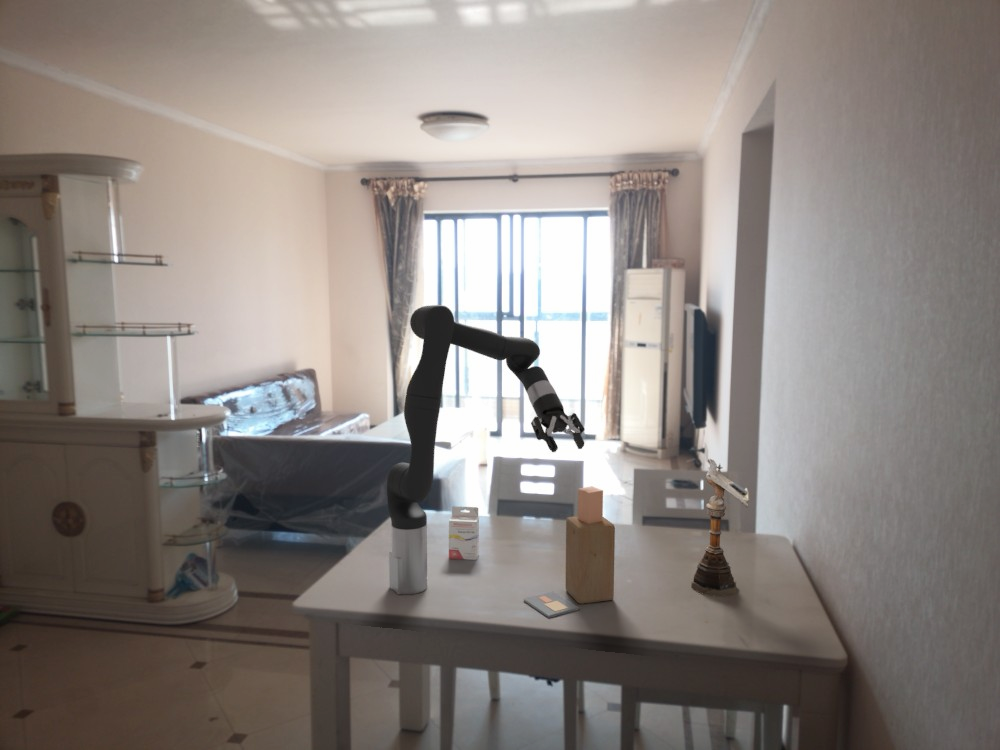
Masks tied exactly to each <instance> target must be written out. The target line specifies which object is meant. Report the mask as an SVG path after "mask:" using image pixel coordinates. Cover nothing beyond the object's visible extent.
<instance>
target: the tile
mask: <svg viewBox="0 0 1000 750" xmlns="http://www.w3.org/2000/svg"><path fill="white" fill-rule="evenodd" d="M523 602H525V603H526V604H528V605H529V606H530V607H531V608H533V609H535V611H537V612H539V613H540V614H542V615H544V616H545V617H546V618H548V619H550V618H553V617H556V616H557V617H558V616H560V615H564V614H568V613H571V612H574V611H578V610H580V609H579V606H577V605H575V604H574V603H573V602H571V601H569V600H567V599H566V598H564V597H563V596H561V595H560V594H558V593H557V592H555V591H549V592H546V593H542V594H538V595H534V596H530V597H526V598H523Z"/></svg>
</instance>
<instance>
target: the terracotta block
mask: <svg viewBox="0 0 1000 750" xmlns="http://www.w3.org/2000/svg"><path fill="white" fill-rule="evenodd" d="M603 509H604V490H603V489H600V488H597V487H594V486H586V487H580V488H578V489H577V516H578V520H581V521H583V522H585V523H588V524H591V523H596V522H600V521H603V517H604V516H603V514H604V510H603Z"/></svg>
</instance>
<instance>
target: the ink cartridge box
mask: <svg viewBox="0 0 1000 750" xmlns="http://www.w3.org/2000/svg"><path fill="white" fill-rule="evenodd" d="M463 511H469V512H463ZM479 536H480V517H479V508H478V507H477V506H456V505H455V506H451V517H450V519H449V520H448V559H453V560H454V559H455V560H469V561H470V560H471V561H472V560H474V561H477V560H478V558H479V557H478V556H479V552H480V551H479V549H480V547H479V545H480V544H479V542H480V541H479V540H480V537H479Z"/></svg>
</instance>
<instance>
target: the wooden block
mask: <svg viewBox="0 0 1000 750" xmlns="http://www.w3.org/2000/svg"><path fill="white" fill-rule="evenodd" d="M615 532H616V528H615V524H614V523H612V522H611V521H610V520H609V519H607V518H605V516H603V521H600V522H596V523H591V524H588V523H585V522H583V521H581V520H578V515H577V516H576V515H575V516H568V517H566V521H565V590H566V591H567V593H569V595H570V596H571V597H572V598H573V599H574V600H575V602H577V604H589V603H598V602H606V601H607V602H608V601H612V600H614V596H615V595H614V594H615V592H614V591H615V588H614V587H615V548H616V547H615V546H616V545H615V543H616V541H615V539H616V538H615V537H616V533H615Z"/></svg>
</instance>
